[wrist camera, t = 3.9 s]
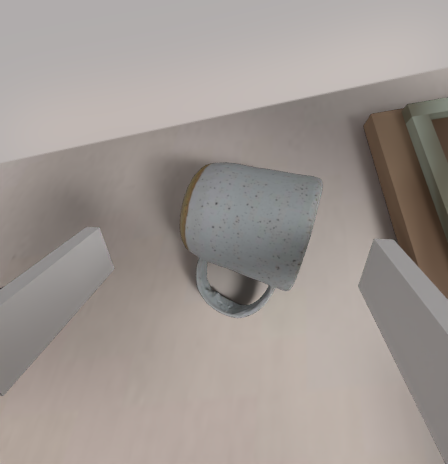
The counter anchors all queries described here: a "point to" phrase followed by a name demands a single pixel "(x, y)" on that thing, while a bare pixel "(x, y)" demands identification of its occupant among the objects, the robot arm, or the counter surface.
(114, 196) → the counter surface
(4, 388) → the robot arm
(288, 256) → the ceramic mug
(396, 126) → the board
